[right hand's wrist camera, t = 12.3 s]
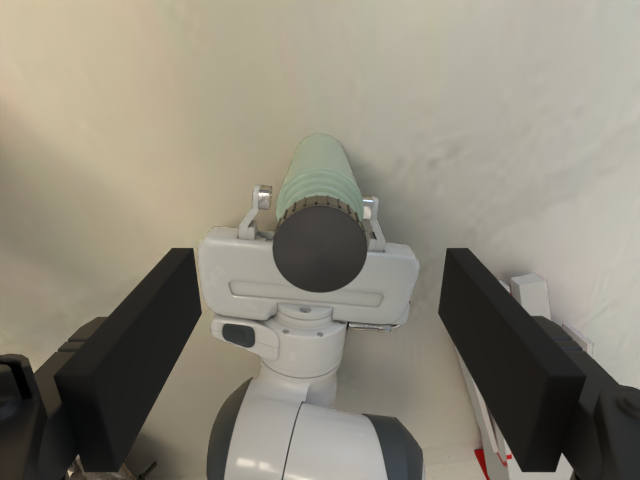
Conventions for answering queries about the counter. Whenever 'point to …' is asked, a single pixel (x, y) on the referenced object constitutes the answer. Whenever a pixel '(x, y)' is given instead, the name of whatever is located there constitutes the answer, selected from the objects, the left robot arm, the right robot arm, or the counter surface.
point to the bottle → (319, 175)
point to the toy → (495, 453)
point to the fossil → (105, 473)
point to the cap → (319, 244)
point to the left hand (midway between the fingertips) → (316, 191)
